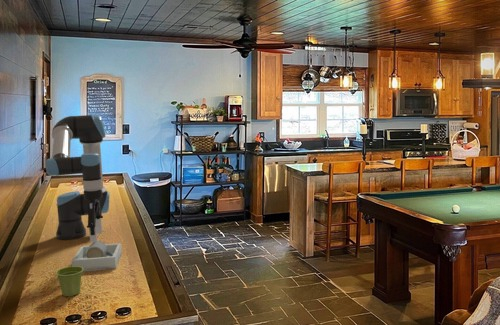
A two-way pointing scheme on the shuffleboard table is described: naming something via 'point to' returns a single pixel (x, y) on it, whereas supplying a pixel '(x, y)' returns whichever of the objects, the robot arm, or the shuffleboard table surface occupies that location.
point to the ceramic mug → (98, 250)
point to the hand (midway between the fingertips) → (96, 237)
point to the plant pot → (70, 280)
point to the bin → (97, 259)
